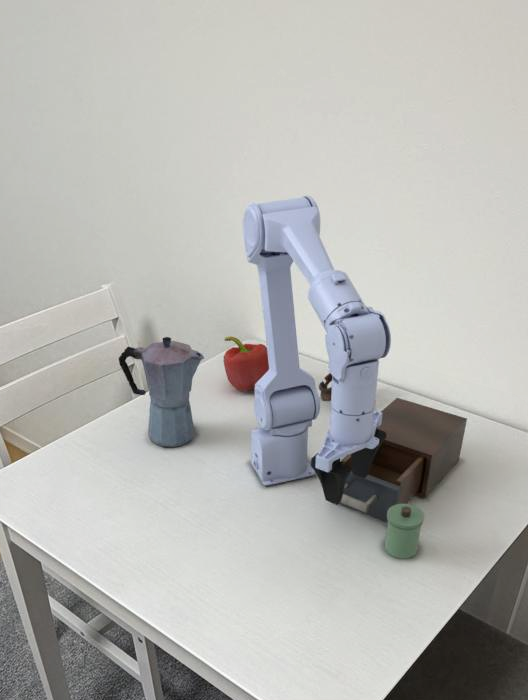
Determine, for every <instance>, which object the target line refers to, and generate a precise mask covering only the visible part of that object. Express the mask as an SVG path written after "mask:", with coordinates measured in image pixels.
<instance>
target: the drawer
mask: <svg viewBox="0 0 528 700" xmlns="http://www.w3.org/2000/svg"><path fill="white" fill-rule="evenodd" d="M426 460H427V458H425V457H422V456H419V455H416V454H413V453H411V452H408V451H405V450H402V449H399V448H396V447H393V446H390V445H387V444H384V443H382V444H381V445H380V447H379V449H378V451H377V453H376V455H375V457H374V459H373V462H372V465H371V467H370V470H369V473H368V475H367V477H366V478H362V477H359V476H357V475H354V474H353V473H352V471H351V472H350V474H349V476H348V478H347V480H346V483H345V486H344V491H343V496H342V499H341V502H340V503H339V504H338V505H341V506H343V507H346V508H348V509H350V510H353V511H355V512H357V513H360V514H363V515H366V516H368V517H370V518H372V519H376V520H377V521H380V522H383V523H385V524H387V523H388V520H387V511H388V509H389V508H390V507H391V506H393V505H396V504H408V503H409V502H410V500H412V498H414V496H416V495H415V494H416V493H417V492H418V490H419V489H420V488H421V487H422V485H423V479H424V473H425V466H426ZM340 461H342V464H343V465H346V466H349V467H351V454H349V455H347V456H345V457H342V458H341V460H340Z"/></svg>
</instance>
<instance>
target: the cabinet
mask: <svg viewBox="0 0 528 700" xmlns="http://www.w3.org/2000/svg"><path fill="white" fill-rule="evenodd" d="M380 412H381V413H382V422H381V425H380V426H379V427H377V429H379V430H382V431H384V432H386V439H385V440H384V441H383V443H384V444H387V445H390V446H393V447H396V448H399V449H402V450H405V451H408V452H411V453H413V454H416V455H419V456H422V457H425V458H427V460H426V466H425V473H424V479H423V485H422V487H421V488H420V489H419V490H418V492H417V493H416V494H415V495H414V496H416V497H418V498H422V499H426V498H427V497H428V496H429V495H430V494H431V493H432V491H433V490H434V489H435V488H436V487H437V486H438V485H439V484H440V483H441V481H442V480H443V479H444V478H445V477H446V476H447V475H448V474H449V472H450V471H451V470H452V469H453V468H454V467H455V466H456V465H457V464H458V463H459V461H460V457H461V453H462V447H463V441H464V437H465V432H466V427H467V426H466V425H467V420H468V418H467V417H463V416H459V415H457V414H453V413H450V412H447V411H443V410H440V409H436V408H434V407H430V406H427V405H423V404H419V403H416V402H414V401H411V400H408V399H407V400H406V399H403V398H399V397H396V398H395V399H393V400H392V401H391V402H390V403H388V405H387V406H386V407H384V408H383V409H382V410H381V411H380Z"/></svg>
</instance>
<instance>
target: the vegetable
mask: <svg viewBox="0 0 528 700" xmlns="http://www.w3.org/2000/svg"><path fill="white" fill-rule="evenodd" d="M224 341H225V342H231V341H232V342H234V343H235V345H237V346H236V347H235V346H234V347H231V348H229V349H228V350H226V351H225V353H224V355H223V366H224V370H225V374H226V378H227V380H228V382H229V383H230V385H231V386H232V387H233V388H234V389H235V390H237V391H240V392H249V391H251V390H252V389H254V390H255V384H256V383H257V382H258V381H259V380H260V379H261V378H262V377H263V376H264V374H265V373H266V372H267V371H268V370H269V362H268V353H267V345H265V344H262V343H258V344H253V343H245V344H243V343H242V341H241V340H240V339H239V338H237V337H235V336H226V337H225V338H224Z"/></svg>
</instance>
